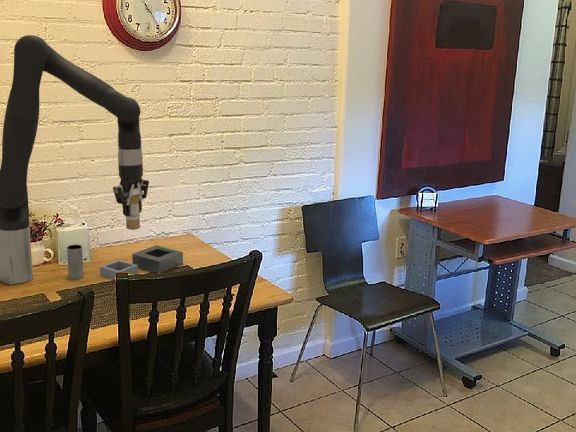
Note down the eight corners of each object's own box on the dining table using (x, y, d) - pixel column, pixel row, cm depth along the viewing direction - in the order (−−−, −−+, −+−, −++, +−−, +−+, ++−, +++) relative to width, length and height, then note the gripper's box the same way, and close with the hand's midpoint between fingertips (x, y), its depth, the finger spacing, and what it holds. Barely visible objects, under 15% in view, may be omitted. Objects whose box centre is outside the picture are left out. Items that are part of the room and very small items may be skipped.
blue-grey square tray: (119, 281, 204) (118, 272, 204) (100, 275, 208) (100, 266, 208) (137, 273, 211) (137, 265, 210) (119, 268, 215) (119, 259, 215)
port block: (159, 274, 212) (158, 260, 210) (132, 266, 217) (132, 253, 216) (182, 264, 222) (183, 251, 220) (156, 257, 227) (156, 244, 226)
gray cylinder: (79, 273, 209) (77, 243, 206) (86, 277, 206) (84, 247, 203) (66, 276, 206) (64, 246, 203) (72, 280, 203) (71, 250, 200)
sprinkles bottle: (141, 226, 211) (140, 186, 207) (138, 230, 207) (137, 189, 203) (127, 225, 211) (125, 186, 207) (124, 230, 207) (122, 189, 203)
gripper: (138, 157, 211) (139, 207, 215) (104, 164, 199) (107, 217, 204) (155, 160, 207) (156, 211, 212) (122, 167, 195) (124, 221, 200)
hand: (132, 213), depth 208 cm, fingers closed on sprinkles bottle, 4 cm apart
